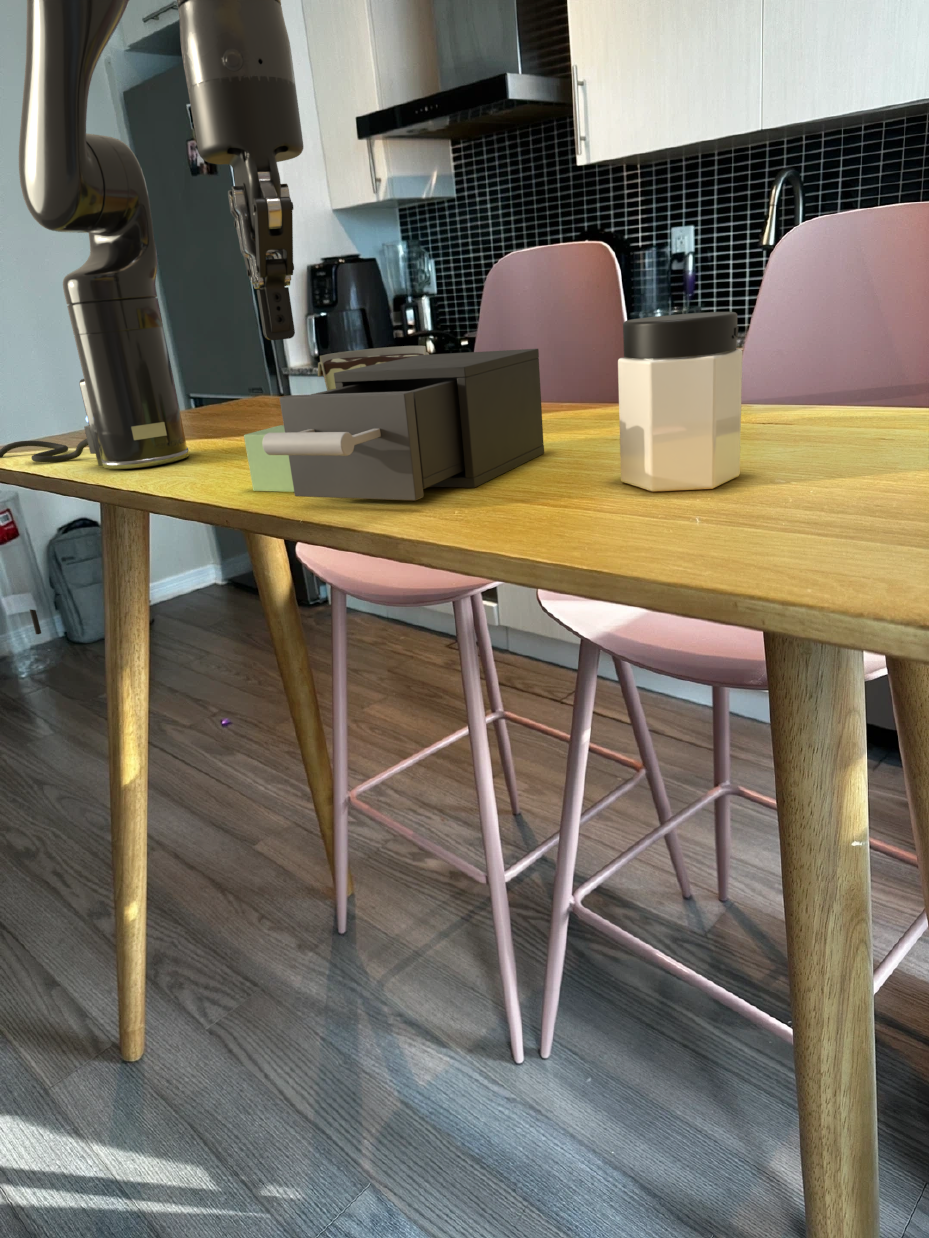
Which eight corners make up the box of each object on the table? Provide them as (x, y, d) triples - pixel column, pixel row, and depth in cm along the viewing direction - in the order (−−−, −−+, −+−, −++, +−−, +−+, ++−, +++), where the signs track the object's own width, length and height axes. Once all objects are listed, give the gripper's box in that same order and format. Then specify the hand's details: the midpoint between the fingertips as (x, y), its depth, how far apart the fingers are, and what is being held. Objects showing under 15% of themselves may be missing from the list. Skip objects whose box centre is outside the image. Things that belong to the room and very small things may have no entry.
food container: (446, 434, 101) (437, 342, 97) (439, 443, 95) (430, 346, 92) (340, 441, 102) (328, 352, 99) (328, 451, 96) (314, 356, 93)
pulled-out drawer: (377, 519, 61) (362, 404, 58) (250, 513, 66) (232, 407, 64) (495, 463, 76) (488, 371, 74) (385, 462, 82) (374, 376, 79)
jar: (760, 481, 66) (766, 311, 61) (665, 498, 63) (664, 322, 59) (692, 463, 74) (692, 312, 69) (605, 478, 71) (600, 322, 67)
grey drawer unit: (474, 488, 72) (464, 366, 69) (348, 484, 78) (333, 373, 75) (544, 453, 84) (538, 348, 81) (430, 452, 90) (420, 355, 87)
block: (253, 490, 79) (243, 434, 77) (288, 478, 83) (279, 425, 82) (297, 492, 77) (288, 434, 75) (331, 479, 81) (323, 424, 79)
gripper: (312, 59, 58) (346, 335, 64) (279, 103, 70) (311, 333, 76) (194, 60, 56) (241, 346, 62) (181, 105, 67) (222, 342, 73)
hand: (279, 338), depth 69 cm, fingers closed
